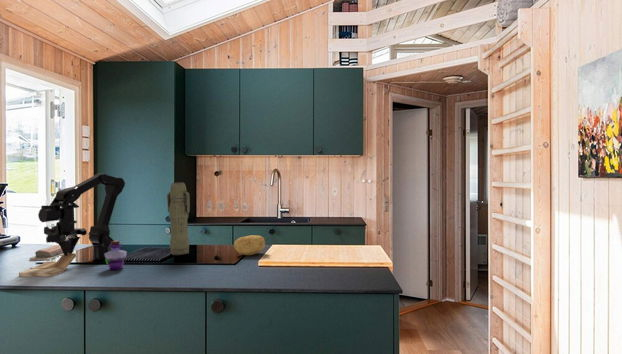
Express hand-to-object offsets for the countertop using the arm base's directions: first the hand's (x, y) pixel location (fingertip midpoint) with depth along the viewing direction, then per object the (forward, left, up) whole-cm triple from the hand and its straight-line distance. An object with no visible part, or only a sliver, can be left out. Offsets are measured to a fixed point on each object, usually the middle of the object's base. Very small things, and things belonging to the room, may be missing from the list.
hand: (68, 254), depth 178 cm
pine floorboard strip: (+4, +11, -5) cm, 13 cm away
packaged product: (+22, -21, -6) cm, 32 cm away
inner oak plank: (0, +2, -3) cm, 4 cm away
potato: (-75, -25, -6) cm, 79 cm away
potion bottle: (-23, +2, -6) cm, 23 cm away
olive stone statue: (-39, -28, -6) cm, 48 cm away
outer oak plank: (+8, +2, -5) cm, 10 cm away
